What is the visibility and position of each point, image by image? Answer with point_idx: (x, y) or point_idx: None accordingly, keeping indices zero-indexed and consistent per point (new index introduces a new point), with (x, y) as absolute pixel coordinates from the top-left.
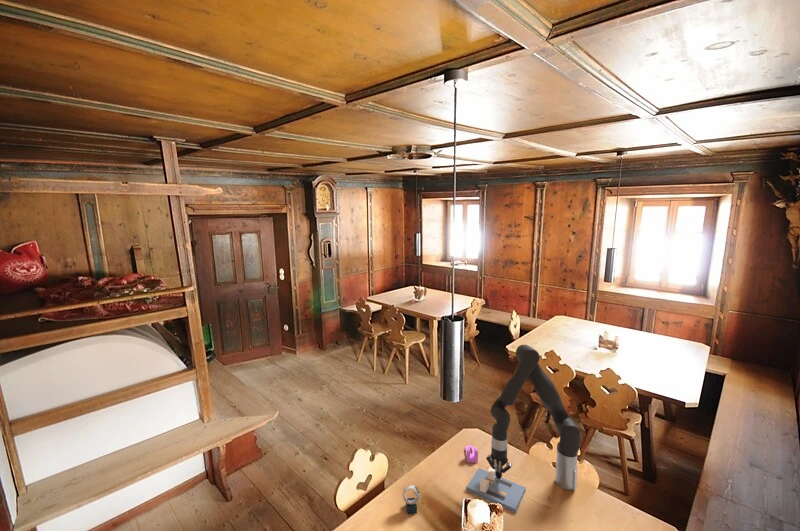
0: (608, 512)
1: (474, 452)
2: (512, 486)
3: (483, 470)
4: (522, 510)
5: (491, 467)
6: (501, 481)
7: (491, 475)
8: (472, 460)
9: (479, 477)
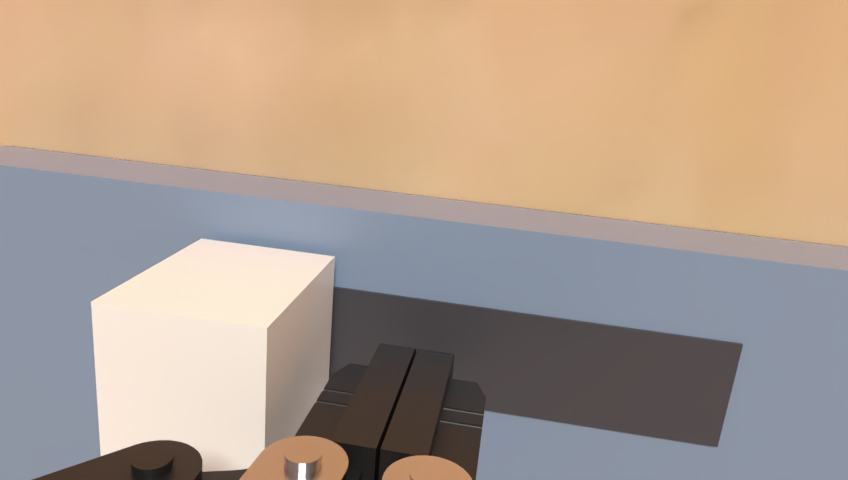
0: None
1: None
2: (754, 404)
3: (47, 189)
4: None
5: (130, 320)
6: (491, 359)
7: None
8: None
9: (74, 422)
